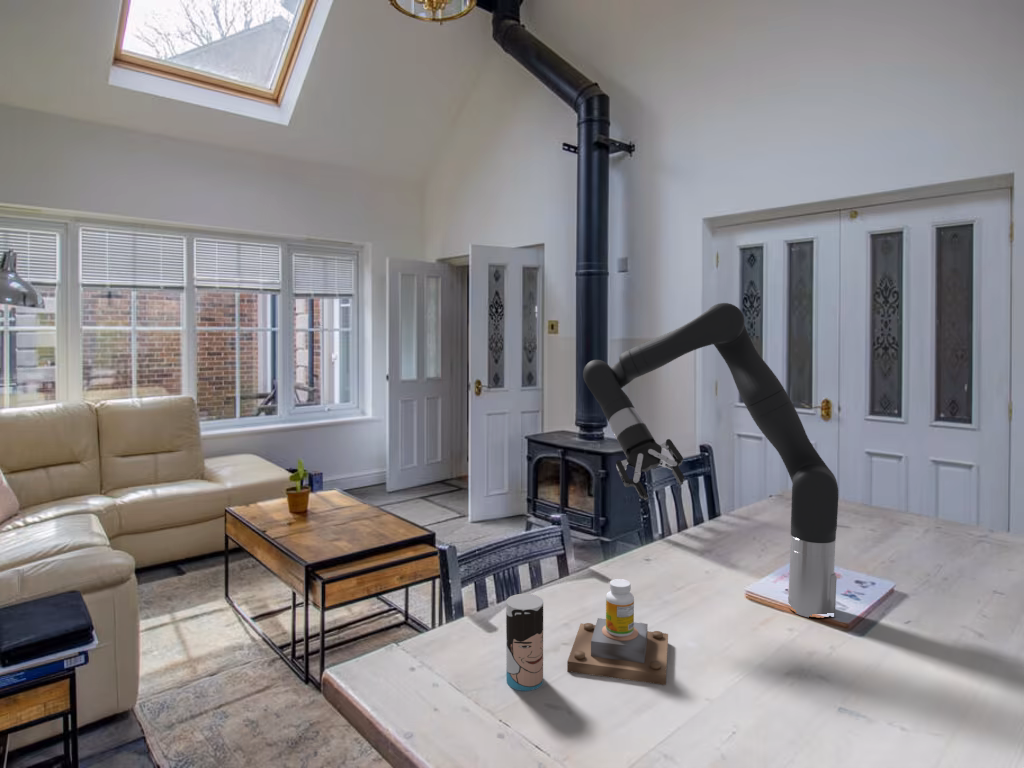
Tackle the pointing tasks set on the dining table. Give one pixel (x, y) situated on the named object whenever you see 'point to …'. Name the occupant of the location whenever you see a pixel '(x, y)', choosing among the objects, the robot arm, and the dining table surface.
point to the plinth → (620, 666)
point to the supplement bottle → (620, 608)
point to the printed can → (524, 642)
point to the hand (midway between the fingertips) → (664, 491)
